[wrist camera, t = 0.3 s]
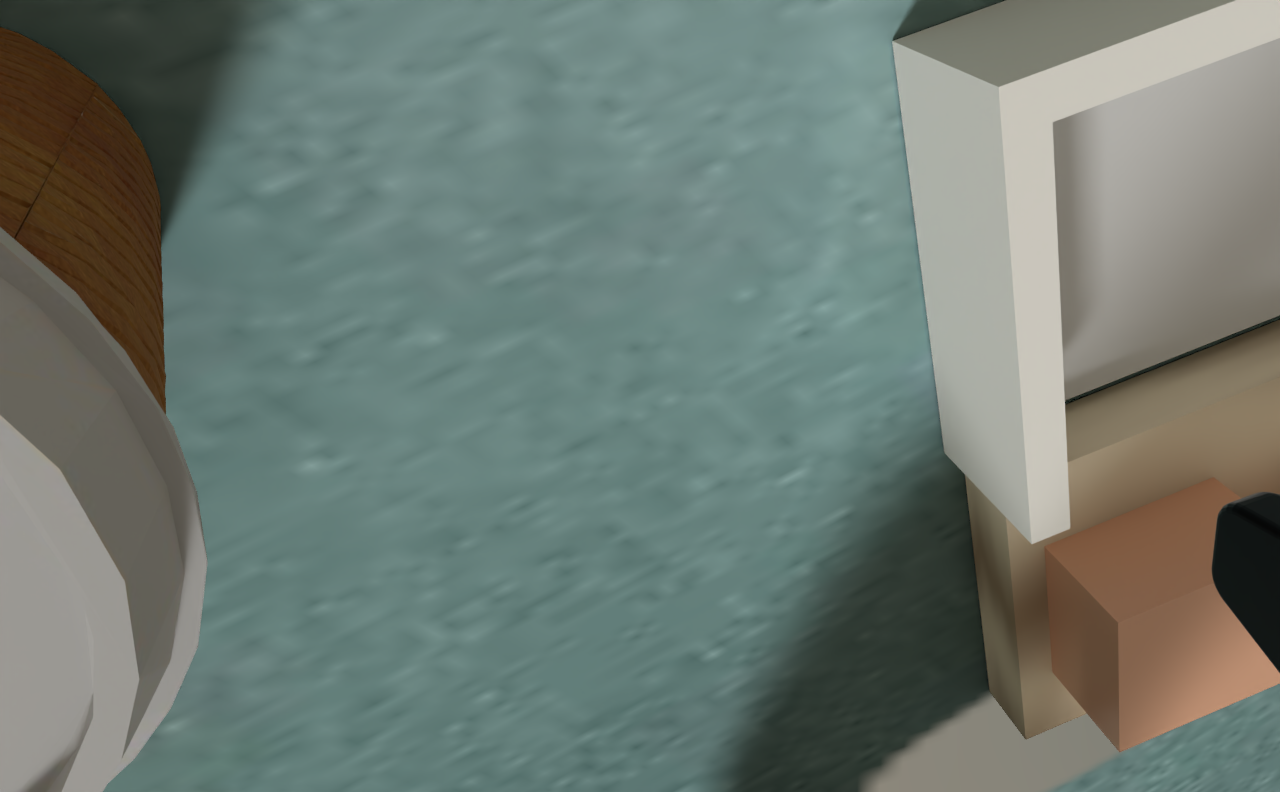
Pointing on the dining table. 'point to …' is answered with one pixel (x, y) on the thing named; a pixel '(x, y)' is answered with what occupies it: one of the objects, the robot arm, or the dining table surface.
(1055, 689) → the birch plate
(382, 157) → the dining table surface
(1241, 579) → the robot arm
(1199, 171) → the bin
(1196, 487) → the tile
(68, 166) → the disposable coffee cup
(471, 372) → the dining table surface
